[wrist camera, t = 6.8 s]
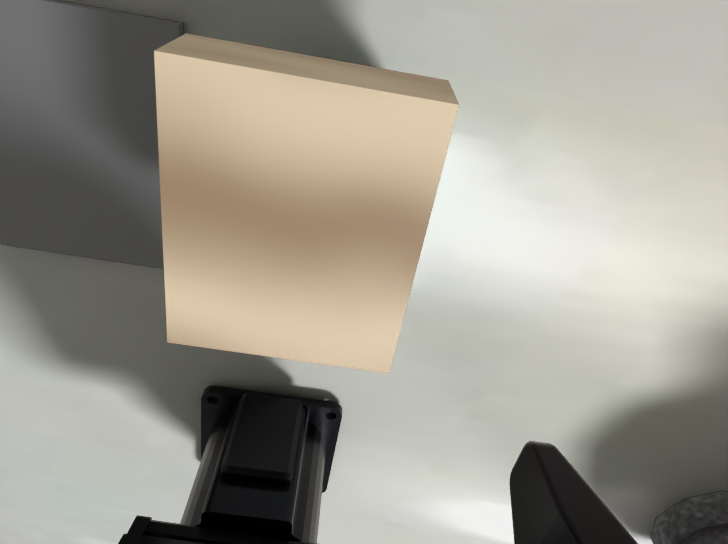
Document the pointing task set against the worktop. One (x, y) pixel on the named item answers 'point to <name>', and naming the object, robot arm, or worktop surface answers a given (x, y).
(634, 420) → the worktop surface
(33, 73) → the mat
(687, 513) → the mortar and pestle
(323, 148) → the board
